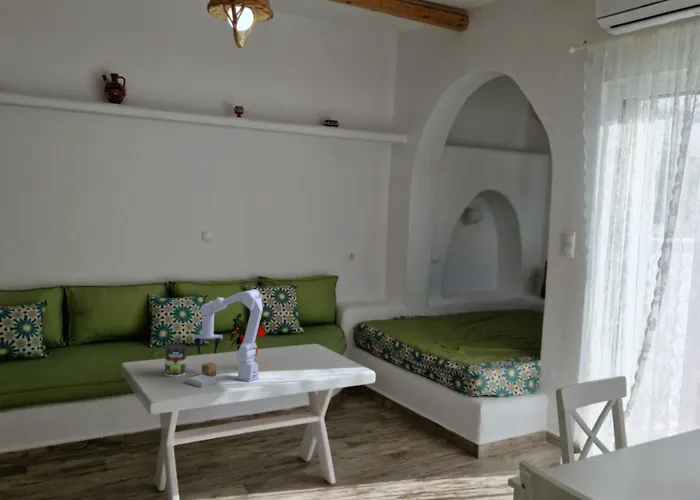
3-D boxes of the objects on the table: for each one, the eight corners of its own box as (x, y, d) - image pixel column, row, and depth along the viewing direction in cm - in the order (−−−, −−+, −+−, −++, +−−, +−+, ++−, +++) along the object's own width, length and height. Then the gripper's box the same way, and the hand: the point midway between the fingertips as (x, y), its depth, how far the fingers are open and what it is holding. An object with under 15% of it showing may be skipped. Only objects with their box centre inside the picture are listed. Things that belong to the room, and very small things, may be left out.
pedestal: (216, 382, 293) (216, 377, 293) (201, 387, 284) (201, 382, 284) (201, 378, 298) (201, 373, 298) (186, 383, 289) (186, 378, 289)
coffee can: (185, 376, 300) (186, 348, 298) (164, 377, 297) (164, 348, 296) (185, 370, 309) (186, 343, 308) (164, 371, 307) (165, 343, 305)
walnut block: (216, 375, 303) (216, 364, 303) (208, 378, 299) (209, 366, 298) (208, 374, 306) (209, 362, 305) (201, 376, 301) (201, 364, 301)
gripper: (222, 325, 312) (222, 351, 313) (193, 325, 310) (193, 351, 311) (222, 328, 305) (221, 354, 307) (192, 328, 303) (192, 354, 304)
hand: (207, 353), depth 308 cm, fingers open, 7 cm apart
